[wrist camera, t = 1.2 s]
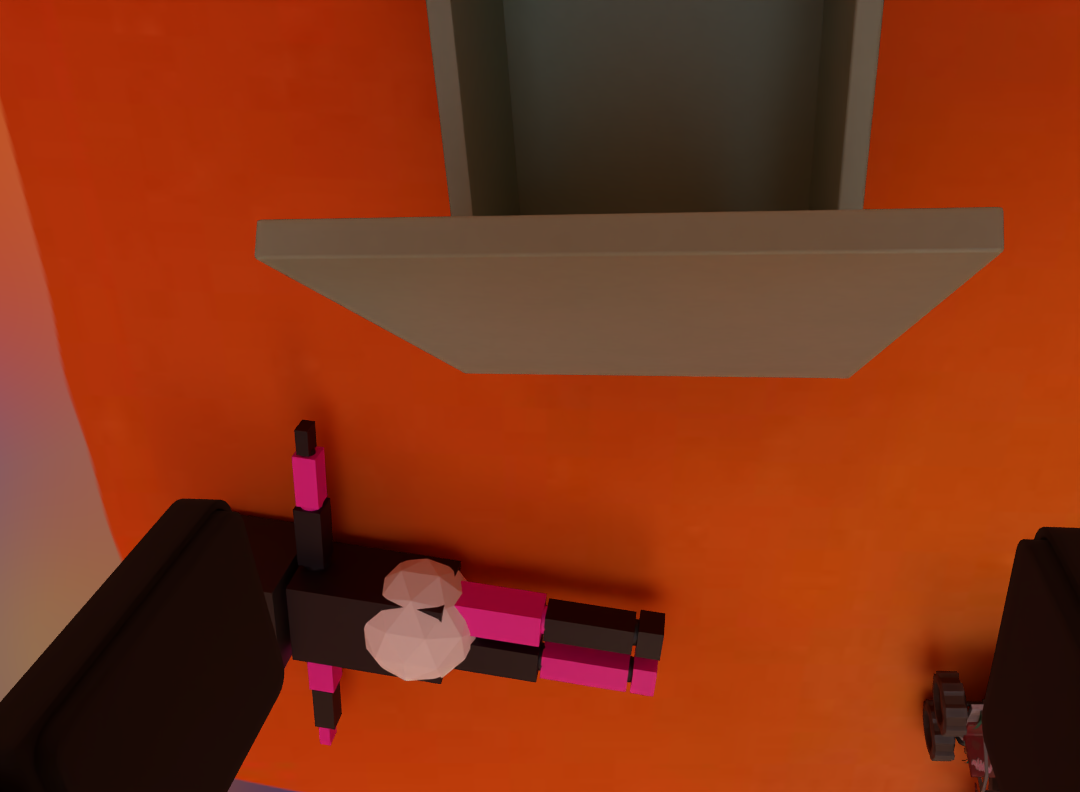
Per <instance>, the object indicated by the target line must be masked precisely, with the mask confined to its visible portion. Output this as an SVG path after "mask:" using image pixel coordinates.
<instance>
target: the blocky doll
mask: <svg viewBox="0 0 1080 792" xmlns="http://www.w3.org/2000/svg"><path fill="white" fill-rule="evenodd" d="M294 432H295V444H296V452H295V453H294V455H293V456H292V465H293V477H294V488H295V500H296V506H295V508H294V509H293V516H294V523H293V522H286V521H280V520H273V519H266V518H260V517H253V516H246V515H241V516H242V519H243V521H244V524H245V528H246V532H247V535H248V539H249V542H250V546H251V549H252V553H253V556H254V560H255V564H256V567H257V571H258V574H259V578H260V581H261V585H262V588H263V592H264V596H265V599H266V603H267V606H268V610H269V613H270V617H271V621H272V624H273V628H274V631H275V635H276V638H277V642H278V645H279V649H280V653H281V656H282V660H283V664H284V668H285V666H286V664H287V663H288V661H289V659H290V657H291V655H292V657H293V660H299V661H305V662H307V663H308V675H309V686H310V689H312V694H313V706H314V717H315V726H317V727H319V735H320V744H325V745H331V743H332V741H333V739H334V736H335V734H336V726H337V723H338V721H339V719H340V717H341V714H342V711H341V696H340V679H341V676H342V668H347V669H353V670H359V671H365V672H371V673H377V674H383V675H389V676H395V677H400V678H402V679H403V680H405V681H411V680H419V681H425V682H431V683H437V684H441V682H442V679H443V677H444V676H445V675H446V674H448V673H449V672H450V671H451V670H452V669H458V670H464V671H470V672H476V673H482V674H488V675H494V676H500V677H506V678H512V679H518V680H524V681H531V682H536V679H537V675H538V670H540V671H541V672H540V678H544V679H550V680H556V681H562V682H568V683H574V684H580V685H586V686H592V687H598V688H605V689H611V690H617V691H623V692H626V685H627V682H631V688H630V693H635V694H641V695H647V696H653V694H654V688H655V682H656V676H657V665H658V660H659V661H660V655H661V650H662V644H663V638H664V625H665V613H658V612H652V611H645V610H641V612H640V618H639V620H638V619H636V612H634V611H628V610H621V609H615V608H608V607H602V606H595V605H589V604H582V603H576V602H569V601H563V600H557V599H550V598H549V603H548V606H546V596H547V594H545V593H539V592H532V591H526V590H519V589H513V588H506V587H500V586H493V585H487V584H480V583H474V582H467V581H466V579H465V578H464V577H463V575H462V574H461V573H460V569H461V561H457V560H450V559H444V558H437V557H431V556H424V555H417V554H411V553H404V552H398V551H391V550H384V549H378V548H371V547H365V546H358V545H351V544H345V543H338V542H333V536H332V520H331V505H330V498H327V485H326V470H325V455H324V447H318V446H317V444H316V429H315V421H309V420H302V421H301V422H300V423H299V425H298V426H297V427H296V429H295V430H294ZM543 634H544V636H543ZM543 641H545V643H543ZM632 645H634V646H636V648H635V655H634V657H632V656H630V655H631V651H632Z"/></svg>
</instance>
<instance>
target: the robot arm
mask: <svg viewBox="0 0 1080 792" xmlns="http://www.w3.org/2000/svg"><path fill="white" fill-rule="evenodd" d="M283 680H284V664H283V660H282V656H281V653H280V649H279V645H278V642H277V638H276V635H275V631H274V628H273V624H272V621H271V617H270V613H269V610H268V606H267V603H266V599H265V596H264V592H263V588H262V585H261V581H260V578H259V574H258V571H257V567H256V564H255V560H254V556H253V553H252V549H251V546H250V542H249V539H248V535H247V532H246V528H245V524H244V521H243V519H242V516H241V515H240V514H239V513H238V512H235V511H232V510H231V508H230V506H229V505H228V504H227V503H226V502H225V501H222V500H210V499H179V500H177V501H176V502H174V503H173V504H172V505H171V506H170V507H169V508H168V510H167V511H166V512H165V513H164V514H163V515H162V516H161V518H160V519H159V520H158V521H157V522H156V523H155V525H154V526H153V527H152V528H151V529H150V530H149V531H148V533H147V534H146V535H145V536H144V537H143V538H142V540H141V541H140V542H139V543H138V544H137V545H136V546H135V548H134V549H133V550H132V551H131V552H130V553H129V554H128V556H127V557H126V558H125V559H124V560H123V561H122V563H121V564H120V565H119V566H118V567H117V568H116V570H115V571H114V572H113V573H112V574H111V575H110V577H109V578H108V579H107V580H106V581H105V582H104V583H103V584H102V586H101V587H100V588H99V589H98V590H97V591H96V592H95V594H94V595H93V596H92V597H91V598H90V600H89V601H88V602H87V603H86V604H85V605H84V606H83V607H82V609H81V610H80V611H79V612H78V613H77V614H76V616H75V617H74V618H73V619H72V620H71V621H70V623H69V624H68V625H67V626H66V627H65V628H64V630H63V631H62V632H61V633H60V634H59V635H58V636H57V637H56V639H55V640H54V641H53V642H52V643H51V645H49V647H48V648H47V649H46V650H45V651H44V653H43V654H42V655H41V656H40V657H39V658H38V660H37V661H36V662H35V663H34V664H33V665H32V666H31V667H30V669H29V670H28V671H27V672H26V673H25V674H24V675H23V677H22V678H21V679H20V680H19V681H18V682H17V684H16V685H15V686H14V687H13V688H12V689H11V690H10V692H9V693H8V694H7V695H6V696H5V697H4V698H3V700H2V701H1V702H0V792H227V791H228V789H229V788H230V786H231V784H232V782H233V780H234V778H235V776H236V775H237V773H238V771H239V769H240V767H241V765H242V763H243V761H244V760H245V758H246V756H247V754H248V752H249V750H250V748H251V746H252V745H253V743H254V741H255V739H256V737H257V735H258V733H259V731H260V730H261V728H262V726H263V724H264V722H265V720H266V718H267V716H268V715H269V713H270V711H271V709H272V707H273V705H274V703H275V701H276V700H277V698H278V696H279V694H280V691H281V689H282V685H283ZM982 731H983V738H984V742H985V746H986V749H987V753H988V756H989V759H990V762H991V765H992V768H993V772H994V775H995V778H996V781H997V784H998V787H999V790H1000V792H1080V528H1061V527H1042V528H1040V529H1039V530H1038V532H1037V533H1036V535H1035V538H1034V540H1029V539H1023V540H1021V541H1020V542H1019V544H1018V546H1017V549H1016V554H1015V558H1014V563H1013V568H1012V573H1011V577H1010V582H1009V587H1008V592H1007V596H1006V601H1005V606H1004V611H1003V615H1002V620H1001V625H1000V630H999V634H998V639H997V644H996V649H995V653H994V658H993V663H992V668H991V672H990V677H989V682H988V687H987V691H986V696H985V701H984V706H983V712H982Z"/></svg>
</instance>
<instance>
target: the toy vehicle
mask: <svg viewBox="0 0 1080 792" xmlns="http://www.w3.org/2000/svg"><path fill="white" fill-rule="evenodd" d="M984 701H985V699H983V700H982V701H966V696H965V692H964V688H963V684H962V683H961V682H960V680H959V673H958V672H957V671H936V674H934V676H933V700H926V701H924V705H923V706H924V708H923V725H924V733H925V740H926V745H927V749H928V752H929V754H930V758H931V760H932V761H951V760H954V757H955V755H954V747H955V738H956V739H957V741H958V743H959V744H961V745H963V746H965V748H964V752H965V754H967V757H968V762H967V763H969V768H970V773H971V777H978V782H979V787H980V792H1000V790H999V787H998V784H997V781H996V778H995V775H994V772H993V768H992V765H991V762H990V759H989V756H988V753H987V749H986V746H985V742H984V738H983V731H982V712H983V706H984ZM967 706H969V707H970V708H969V710H968V712H967ZM966 760H967V759H966ZM962 761H965V760H962ZM981 777H984V778H983V782H982V779H981ZM988 777H989V790H985V789H986V785H987V781H988ZM975 789H976V792H977V786H976V783H975Z"/></svg>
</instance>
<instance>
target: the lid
mask: <svg viewBox="0 0 1080 792" xmlns="http://www.w3.org/2000/svg"><path fill="white" fill-rule="evenodd" d="M1003 250H1004V222H1003V209H1002V208H1000V207H973V208H915V209H857V210H799V211H741V212H684V213H626V214H568V215H510V216H452V217H394V218H336V219H278V220H259V221H258V222H257V231H256V246H255V258H256V259H257V260H259V261H261V262H263V263H265V264H267V265H268V266H270V267H272V268H274V269H276V270H278V271H279V272H281V273H283V274H285V275H287V276H288V277H290V278H292V279H294V280H296V281H298V282H299V283H301V284H303V285H305V286H307V287H309V288H310V289H312V290H314V291H316V292H318V293H320V294H321V295H323V296H325V297H327V298H329V299H330V300H332V301H334V302H336V303H338V304H340V305H341V306H343V307H345V308H347V309H349V310H351V311H352V312H354V313H356V314H358V315H360V316H362V317H363V318H365V319H367V320H369V321H371V322H372V323H374V324H376V325H378V326H380V327H382V328H383V329H385V330H387V331H389V332H391V333H393V334H394V335H396V336H398V337H400V338H402V339H404V340H405V341H407V342H409V343H411V344H413V345H415V346H416V347H418V348H420V349H422V350H424V351H425V352H427V353H429V354H431V355H433V356H435V357H436V358H438V359H440V360H442V361H444V362H446V363H447V364H449V365H451V366H453V367H455V368H457V369H458V370H460V371H462V372H464V373H481V374H560V375H638V376H716V377H795V378H850V377H851V376H852V375H853V374H854V373H856V372H857V371H858V370H859V369H861V368H862V367H863V366H864V365H865V364H867V363H868V362H869V361H870V360H871V359H873V358H874V357H875V356H876V355H878V354H879V353H880V352H881V351H882V350H884V349H885V348H886V347H887V346H888V345H890V344H891V343H892V342H893V341H895V340H896V339H897V338H898V337H899V336H901V335H902V334H903V333H904V332H905V331H907V330H908V329H909V328H910V327H912V326H913V325H914V324H915V323H916V322H918V321H919V320H920V319H921V318H922V317H924V316H925V315H926V314H927V313H929V312H930V311H931V310H932V309H933V308H935V307H936V306H937V305H938V304H940V303H941V302H942V301H943V300H944V299H946V298H947V297H948V296H949V295H950V294H952V293H953V292H954V291H955V290H957V289H958V288H959V287H960V286H961V285H963V284H964V283H965V282H966V281H967V280H969V279H970V278H971V277H972V276H974V275H975V274H976V273H977V272H978V271H980V270H981V269H982V268H983V267H984V266H986V265H987V264H988V263H989V262H991V261H992V260H993V259H994V258H995V257H997V256H998V255H999V254H1000V253H1002V252H1003Z"/></svg>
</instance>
